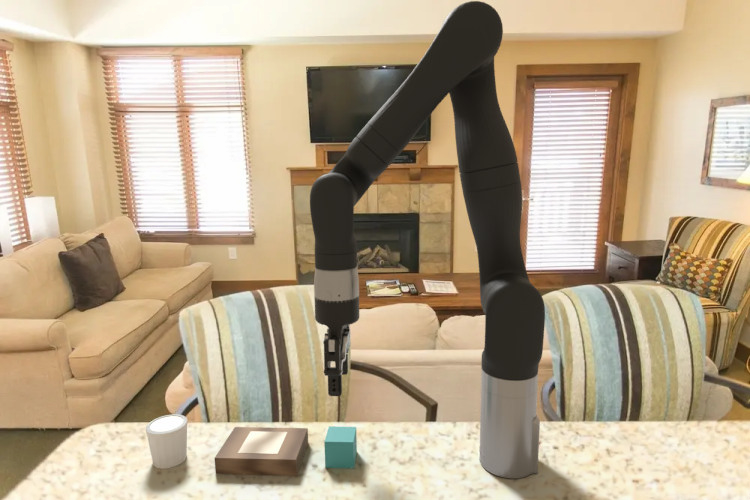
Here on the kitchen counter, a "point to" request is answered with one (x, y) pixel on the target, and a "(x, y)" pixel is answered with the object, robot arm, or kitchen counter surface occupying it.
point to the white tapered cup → (168, 440)
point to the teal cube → (340, 447)
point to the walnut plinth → (262, 451)
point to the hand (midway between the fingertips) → (338, 383)
